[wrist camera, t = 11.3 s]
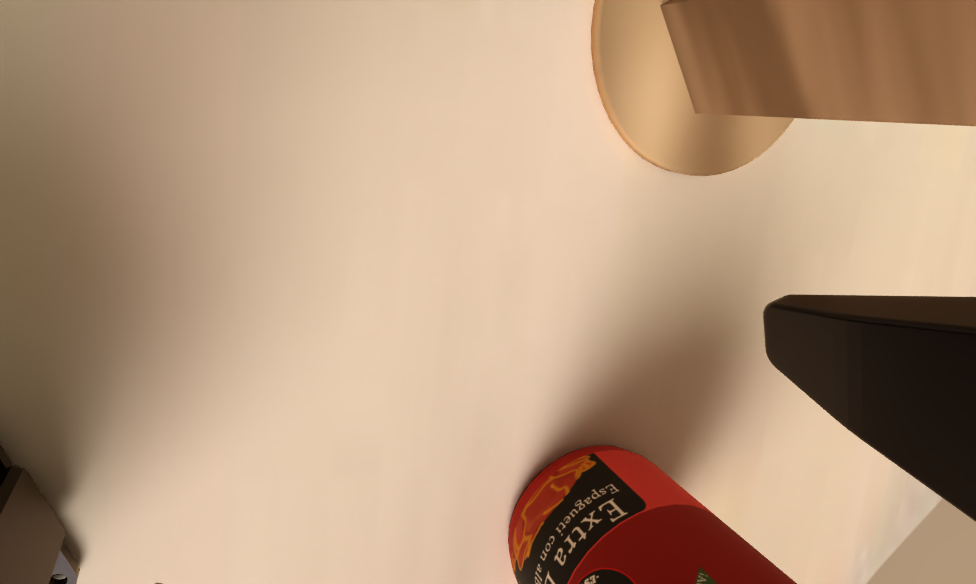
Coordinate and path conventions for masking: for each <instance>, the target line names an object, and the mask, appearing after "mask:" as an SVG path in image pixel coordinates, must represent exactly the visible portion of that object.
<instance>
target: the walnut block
mask: <svg viewBox="0 0 976 584" xmlns="http://www.w3.org/2000/svg"><path fill="white" fill-rule="evenodd" d="M660 7H661V10H662V13H663V16H664V19H665V22H666V25H667V28H668V32H669V35H670V38H671V41H672V44H673V47H674V50H675V53H676V56H677V59H678V62H679V65H680V68H681V71H682V74H683V77H684V80H685V83H686V86H687V89H688V92H689V96H690V99H691V102H692V105H693V108H694V111H695V114H717V115H740V116H762V117H784V118H806V119H828V120H851V121H873V122H895V123H917V124H939V125H962V126H976V0H669V1H667V2H666V3H664V4H662V5H661V6H660Z"/></svg>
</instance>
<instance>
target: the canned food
mask: <svg viewBox="0 0 976 584" xmlns="http://www.w3.org/2000/svg"><path fill="white" fill-rule="evenodd" d="M508 544H509V552H510V558H511V563H512V568H513V571H514V574H515V577H516V579H517V582H518V584H797V583H795V582H794V581H793V580H792V579H791V578H789V577H788V576H787V575H786V574H785V573H783V572H782V571H781V570H780V569H779V568H777V567H776V566H775V565H774V564H773V563H771V562H770V561H769V560H768V559H767V558H766V557H764V556H763V555H762V554H761V553H760V552H758V551H757V550H756V549H755V548H754V547H752V546H751V545H750V544H749V543H748V542H746V541H745V540H744V539H743V538H742V537H740V536H739V535H738V534H737V533H736V532H734V531H733V530H732V529H731V528H730V527H728V526H727V525H726V524H725V523H724V522H722V521H721V520H720V519H719V518H718V517H716V516H715V515H714V514H713V513H712V512H710V511H709V510H708V509H707V508H706V507H705V506H703V505H702V504H701V503H700V502H699V501H697V500H696V499H695V498H694V497H693V496H691V495H690V494H689V493H688V492H687V491H685V490H684V489H683V488H682V487H681V486H679V485H678V484H677V483H676V482H675V481H673V480H672V479H671V478H670V477H669V476H667V475H666V474H665V473H664V472H663V471H661V470H660V469H659V468H658V467H657V466H655V465H654V464H653V463H652V462H650V461H649V460H647V459H646V458H644V457H643V456H641V455H638V454H635V453H632V452H629V451H627V450H624V449H621V448H618V447H613V446H603V445H601V446H592V447H586V448H583V449H580V450H576V451H573V452H571V453H569V454H567V455H565V456H563V457H561V458H559V459H557V460H556V461H555V462H553V463H552V464H551V465H549V466H548V467H546V468H545V469H544V470H543V471H542V472H541V473H540V474H539V475H538V476H537V477H536V478H535V479H534V480H533V481H532V482H531V483H530V485H529V486H528V487H527V489H526V490H525V492H524V493H523V494H522V496H521V498H520V500H519V502H518V504H517V506H516V508H515V510H514V513H513V516H512V519H511V523H510V526H509V537H508Z"/></svg>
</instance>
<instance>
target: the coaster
mask: <svg viewBox="0 0 976 584" xmlns="http://www.w3.org/2000/svg"><path fill="white" fill-rule="evenodd" d="M667 1H669V0H595V4H594V10H593V19H592V29H591V51H592V60H593V70H594V75H595V79H596V84H597V88H598V92H599V94H600V97H601V100H602V103H603V106H604V108H605V110H606V112H607V114H608V117H609V119H610V121H611V123H612V124H613V126H614V127H615V129H616V130H617V132H618V133H619V135H620V136H621V138H622V139H623V140H624V141H625V142H626V143H627V144H628V145H629V147H630V148H631V149H632V150H634V151H635V152H636V153H637V154H638V155H640V156H641V157H642V158H643V159H645V160H647V161H648V162H650V163H652V164H653V165H655V166H657V167H660V168H662V169H665V170H668V171H672V172H677V173H681V174H687V175H695V176H709V175H716V174H722V173H725V172H728V171H732V170H734V169H737V168H739V167H741V166H743V165H745V164H747V163H749V162H750V161H752V160H753V159H755V158H757V157H758V156H759V155H761V154H762V153H763V152H764V151H766V150H767V149H768V148H769V147H770V146H771V145H772V144H773V143H774V142H775V141H776V140H777V139H778V138H779V137H780V136H781V135H782V134H783V132H784V131H785V130H786V129H787V127H788V126H789V125H790V123H791V122H792V121H793V119H794V118H784V117H762V116H740V115H717V114H695V111H694V108H693V105H692V102H691V99H690V96H689V92H688V89H687V86H686V83H685V80H684V77H683V74H682V71H681V68H680V65H679V62H678V59H677V56H676V53H675V50H674V47H673V44H672V41H671V38H670V35H669V32H668V28H667V25H666V22H665V19H664V16H663V13H662V10H661V7H660V6H661V5H662V4H664V3H666V2H667Z"/></svg>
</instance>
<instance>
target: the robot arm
mask: <svg viewBox="0 0 976 584" xmlns="http://www.w3.org/2000/svg"><path fill="white" fill-rule="evenodd" d="M763 319H764V333H765V347H766V353H767V356H768V358H769V360H770V362H771V363H772V364H773V365H774V366H775V367H776V368H777V369H778V370H779V371H780V372H782V373H783V374H784V375H785V376H786V377H787V378H788V379H790V380H791V381H792V382H793V383H794V384H795V385H797V386H798V387H799V388H800V389H801V390H802V391H804V392H805V393H806V394H807V395H808V396H809V397H810V398H812V399H813V400H814V401H815V402H816V403H817V404H819V405H820V406H821V407H822V408H823V409H824V410H826V411H827V412H828V413H829V414H830V415H831V416H832V417H834V418H835V419H836V420H837V421H838V422H840V423H841V424H842V425H843V426H844V427H846V428H847V429H848V430H849V431H851V432H852V433H853V434H855V435H856V436H857V437H859V438H860V439H861V440H863V441H864V442H866V443H867V444H868V445H870V446H871V447H873V448H874V449H875V450H877V451H878V452H880V453H881V454H882V455H884V456H885V457H886V458H888V459H889V460H891V461H892V462H893V463H895V464H896V465H898V466H899V467H900V468H902V469H903V470H905V471H906V472H907V473H909V474H910V475H912V476H913V477H914V478H916V479H917V480H919V481H920V482H921V483H923V484H924V485H925V486H927V487H928V488H930V489H931V490H932V491H934V492H935V493H937V494H938V495H939V496H941V497H942V498H944V499H945V500H946V501H948V502H949V503H951V504H952V505H953V506H955V507H956V508H958V509H959V510H960V511H962V512H963V513H964V514H966V515H967V516H969V517H970V518H972V519H973V520H974V521H976V297H934V296H858V295H787V296H784V297H782V298H779V299H777V300H775V301H773V302H771V303H769V304H768V305H767V306H766V307H765V309H764V312H763ZM65 534H66V532H65V529H64V528H63V526H62V524H61V523H60V521H59V520H58V518H57V517H56V515H55V514H54V512H53V511H52V509H51V507H50V506H49V504H48V503H47V501H46V500H45V498H44V497H43V495H42V493H41V492H40V490H39V489H38V487H37V486H36V484H35V483H34V481H33V480H32V478H31V476H30V475H29V473H28V472H27V470H26V469H25V468H22V467H19V466H17V465H13V464H12V463H11V461H10V460H9V458H8V457H7V455H6V453H5V452H4V450H3V449H2V447H1V446H0V584H76V582H77V578H78V575H79V570H80V569H79V566H78V564H77V562H76V561H75V559H74V558H73V556H72V555H71V553H70V552H69V550H68V548H67V547H66V545H65V544H64V542H63V540H64V537H65ZM55 574H64V575H65V576H66V578H64V579H60V580H59V579H54V578H53V577H52V575H55ZM155 584H162V583H155Z"/></svg>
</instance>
